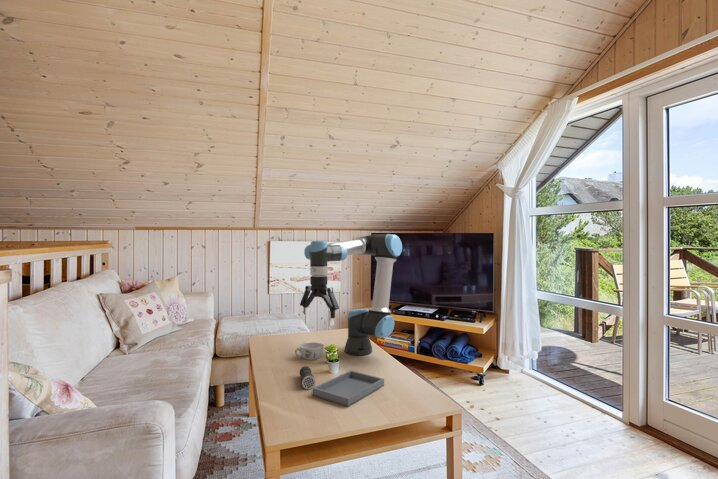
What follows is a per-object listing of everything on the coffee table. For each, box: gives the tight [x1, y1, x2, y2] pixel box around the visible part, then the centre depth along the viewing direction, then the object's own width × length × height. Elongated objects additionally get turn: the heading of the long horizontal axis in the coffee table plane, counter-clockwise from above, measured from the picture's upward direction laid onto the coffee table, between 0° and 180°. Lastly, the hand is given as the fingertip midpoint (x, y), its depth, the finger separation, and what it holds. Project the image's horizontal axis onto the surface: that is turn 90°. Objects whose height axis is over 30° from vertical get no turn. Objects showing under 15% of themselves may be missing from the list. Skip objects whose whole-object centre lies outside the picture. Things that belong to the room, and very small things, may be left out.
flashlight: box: [299, 365, 316, 390], centre depth 167 cm, size 15×5×5 cm, turn 14°
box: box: [312, 370, 385, 408], centre depth 158 cm, size 26×18×3 cm
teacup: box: [294, 342, 325, 361], centre depth 198 cm, size 15×12×8 cm
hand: (319, 323), depth 167 cm, fingers open, 13 cm apart
